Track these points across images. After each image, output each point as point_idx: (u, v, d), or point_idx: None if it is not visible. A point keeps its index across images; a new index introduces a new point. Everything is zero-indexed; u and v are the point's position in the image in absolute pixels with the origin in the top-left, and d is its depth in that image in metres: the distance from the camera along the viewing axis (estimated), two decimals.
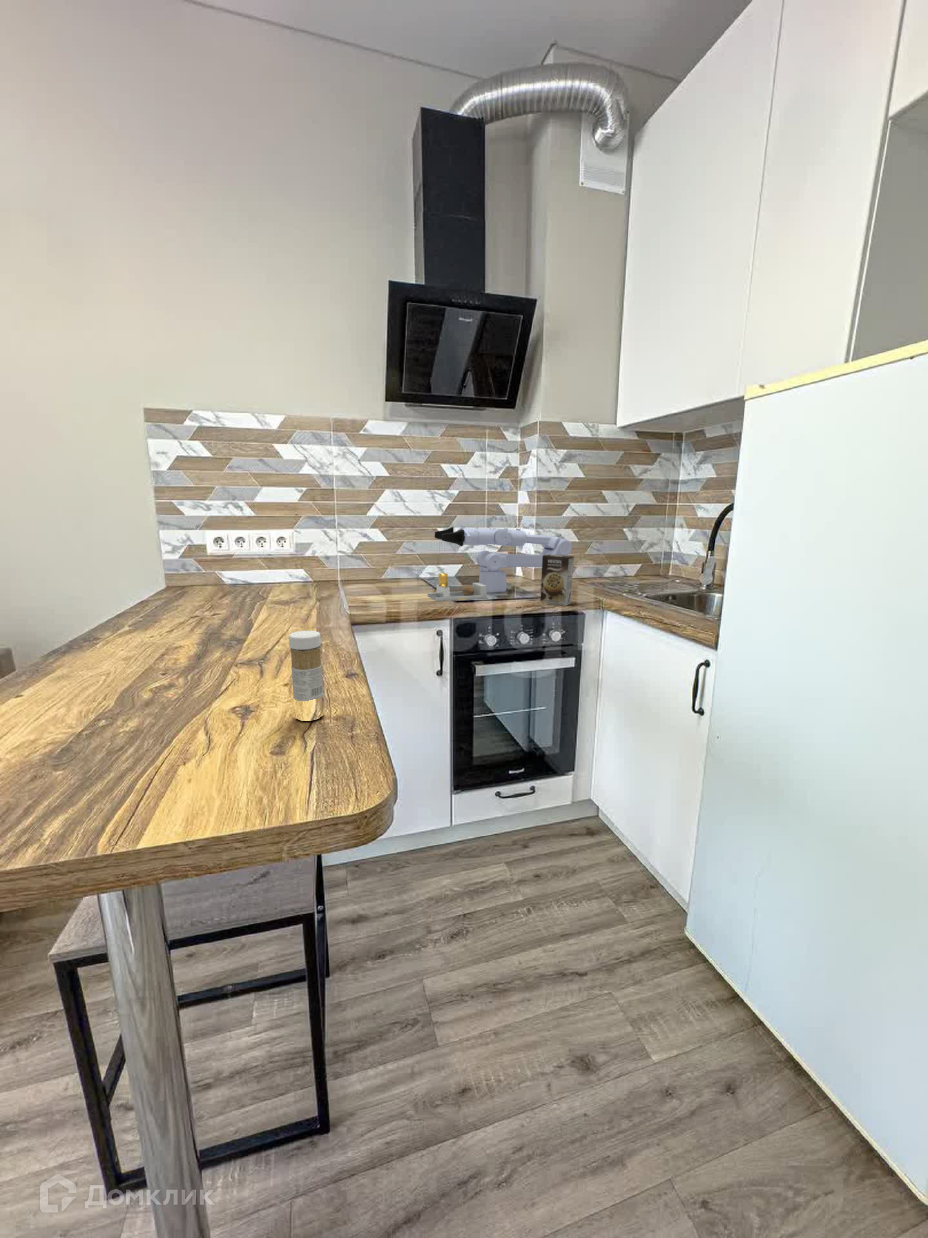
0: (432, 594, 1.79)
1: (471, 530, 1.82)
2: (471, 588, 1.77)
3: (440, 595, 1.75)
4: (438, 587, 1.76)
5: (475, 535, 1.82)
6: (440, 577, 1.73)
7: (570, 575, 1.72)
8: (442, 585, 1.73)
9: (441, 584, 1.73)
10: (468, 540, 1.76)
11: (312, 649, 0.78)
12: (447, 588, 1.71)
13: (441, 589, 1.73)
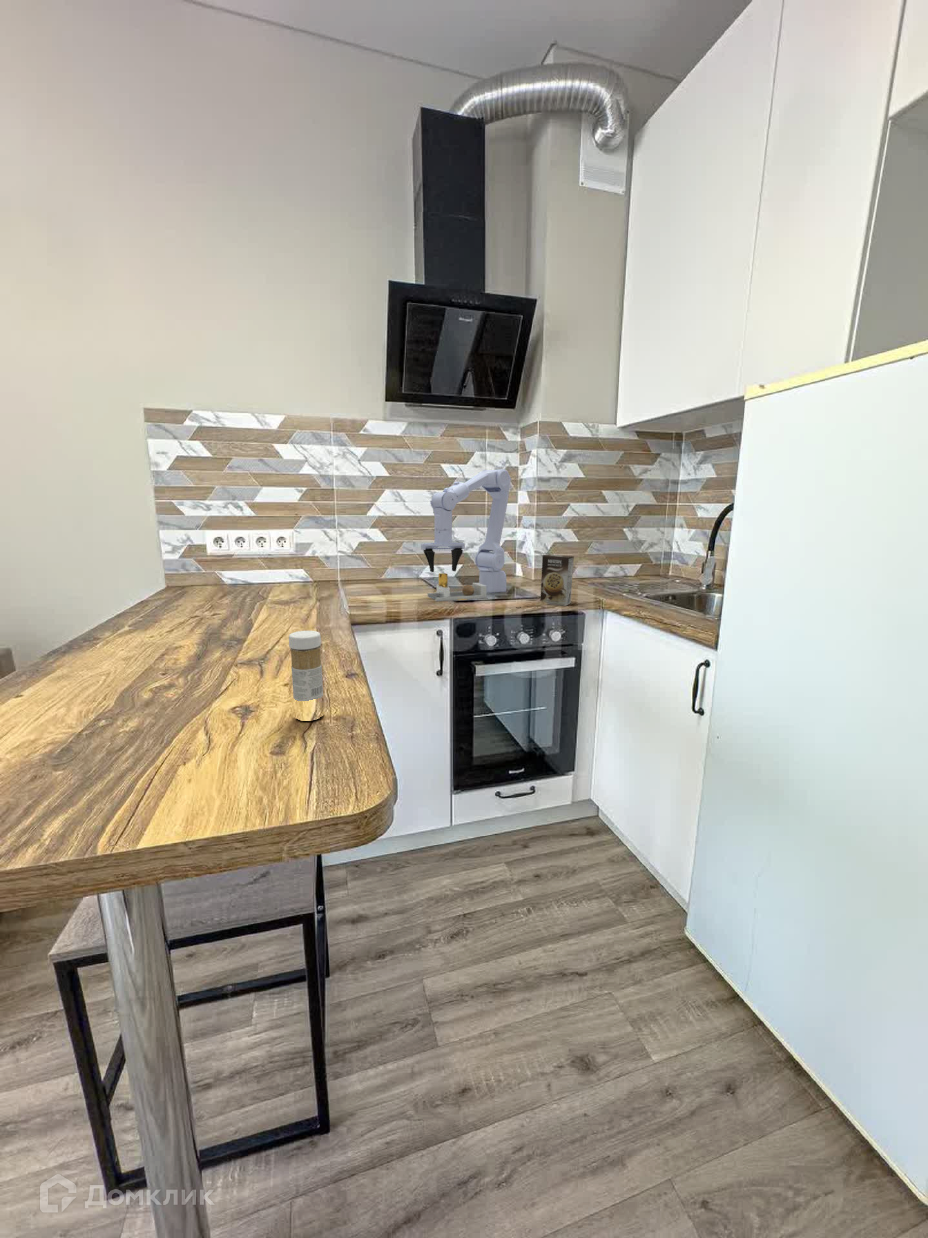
0: (432, 594, 1.79)
1: (450, 536, 1.70)
2: (471, 588, 1.77)
3: (440, 595, 1.75)
4: (438, 587, 1.76)
5: (451, 532, 1.71)
6: (440, 577, 1.73)
7: (570, 575, 1.72)
8: (442, 585, 1.73)
9: (441, 584, 1.73)
10: None
11: (312, 649, 0.78)
12: (447, 588, 1.71)
13: (441, 589, 1.73)
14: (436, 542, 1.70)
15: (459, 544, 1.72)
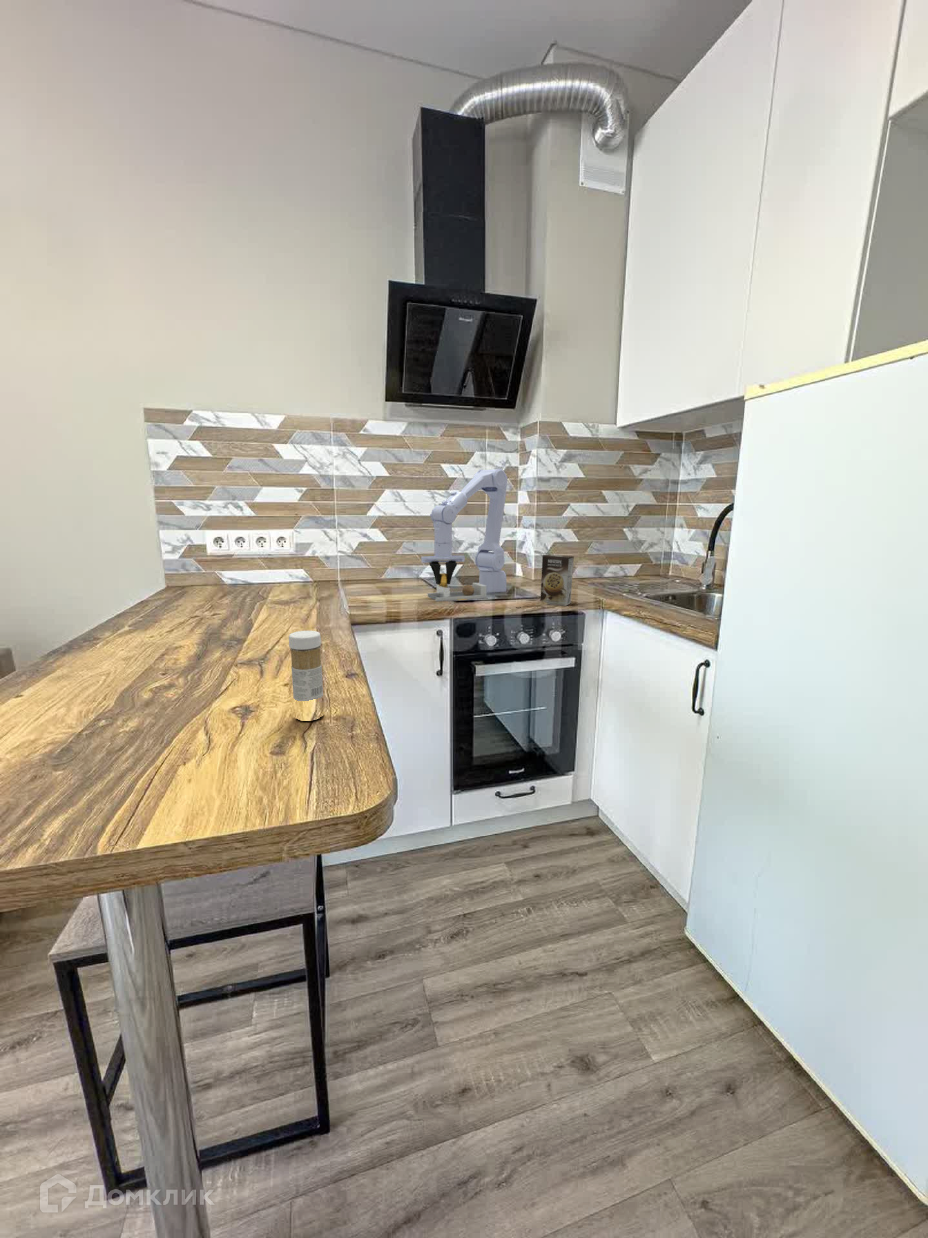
0: (432, 594, 1.79)
1: (450, 549, 1.71)
2: (471, 588, 1.77)
3: (440, 595, 1.75)
4: (438, 587, 1.76)
5: (451, 545, 1.72)
6: (440, 577, 1.73)
7: (570, 575, 1.72)
8: (442, 585, 1.73)
9: (441, 584, 1.73)
10: None
11: (312, 649, 0.78)
12: (447, 588, 1.71)
13: (441, 589, 1.73)
14: (436, 555, 1.71)
15: (459, 557, 1.73)
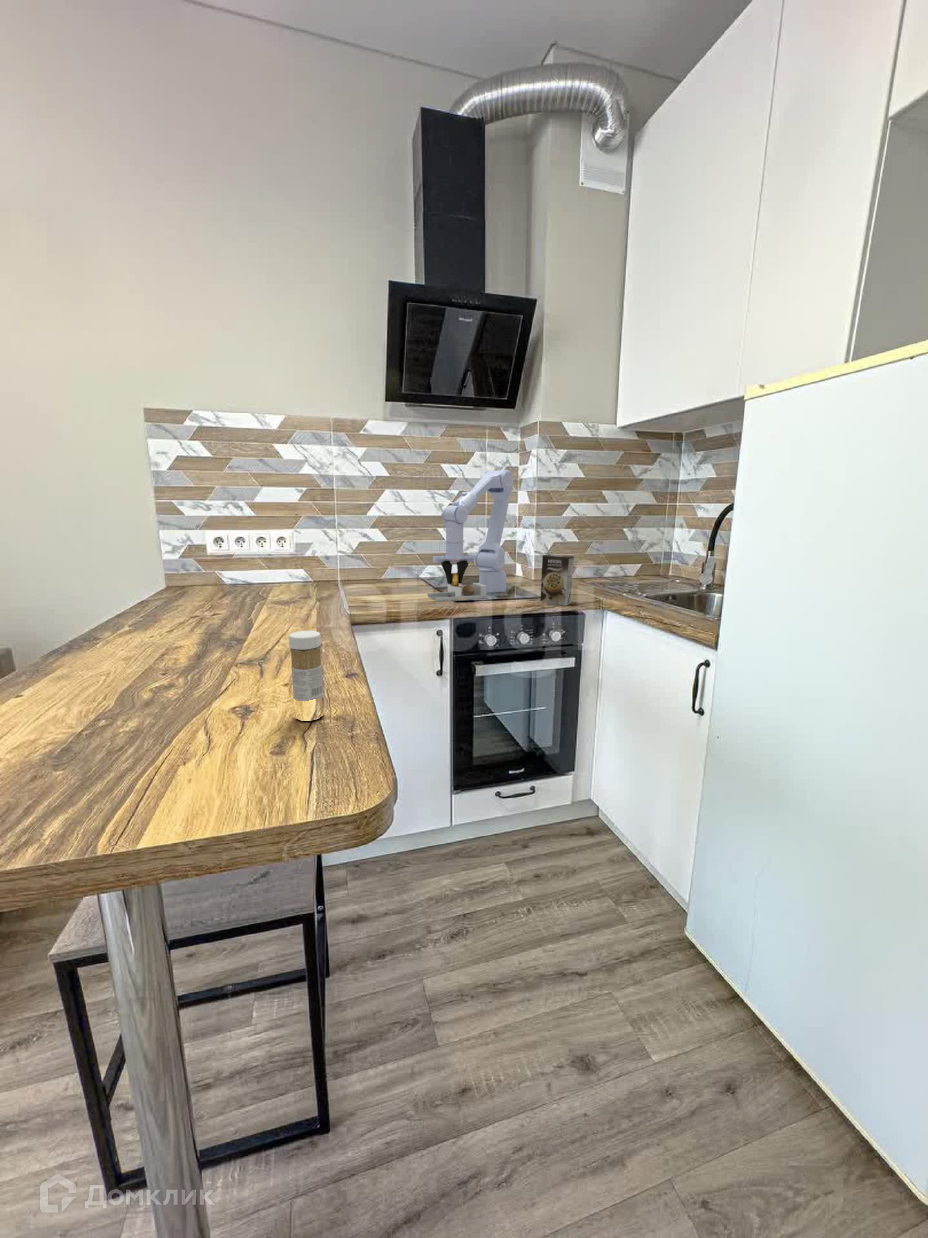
0: (432, 594, 1.79)
1: (461, 549, 1.72)
2: (471, 588, 1.77)
3: (451, 594, 1.76)
4: (449, 586, 1.78)
5: None
6: (451, 577, 1.74)
7: (570, 575, 1.72)
8: (453, 584, 1.75)
9: (452, 583, 1.75)
10: None
11: (312, 649, 0.78)
12: (459, 587, 1.73)
13: (452, 588, 1.75)
14: (448, 555, 1.72)
15: (470, 557, 1.75)
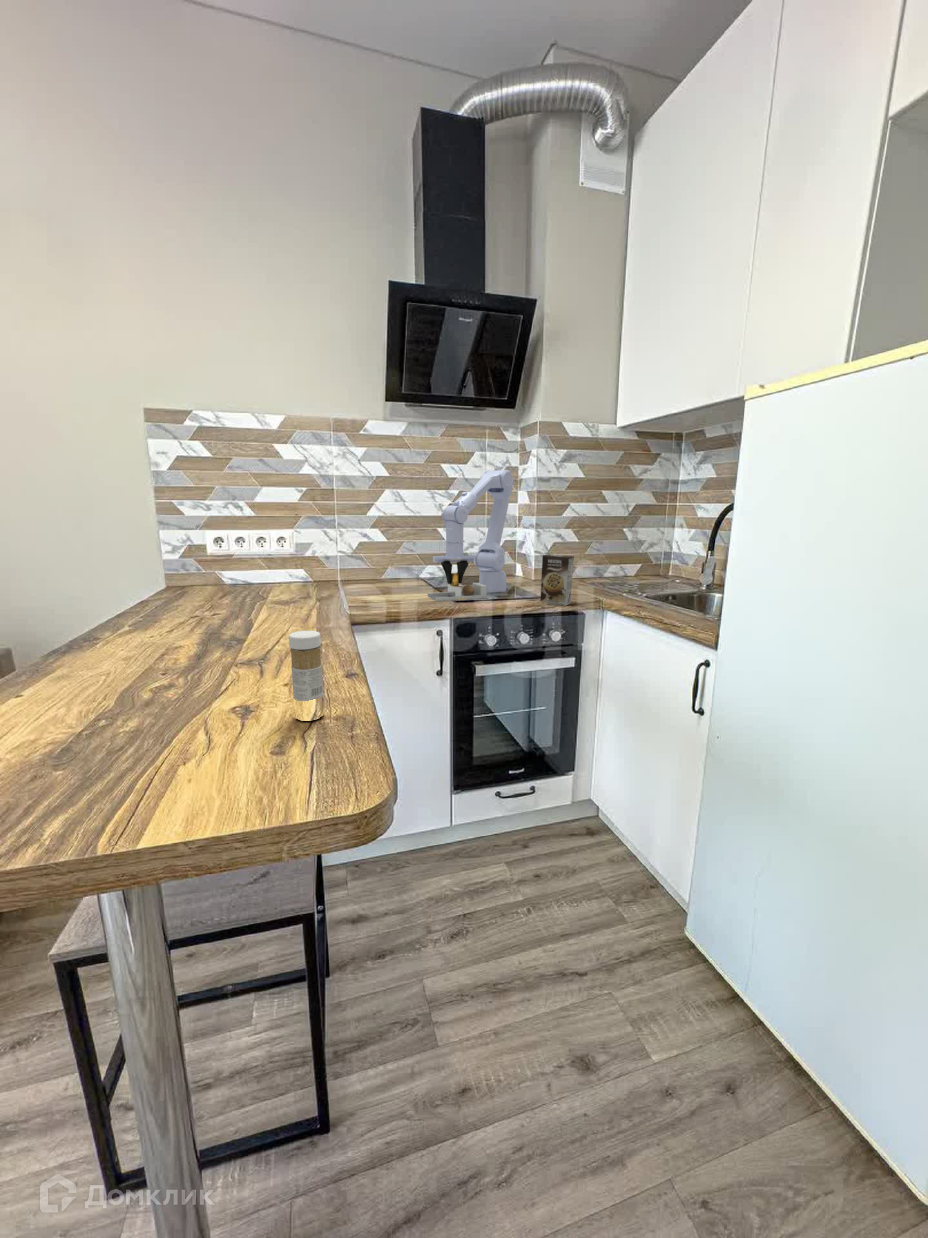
0: (432, 594, 1.79)
1: (461, 549, 1.72)
2: (471, 588, 1.77)
3: (451, 594, 1.76)
4: (449, 586, 1.78)
5: None
6: (451, 577, 1.74)
7: (570, 575, 1.72)
8: (453, 584, 1.75)
9: (452, 583, 1.75)
10: None
11: (312, 649, 0.78)
12: (459, 587, 1.73)
13: (452, 588, 1.75)
14: (448, 555, 1.72)
15: (470, 557, 1.75)
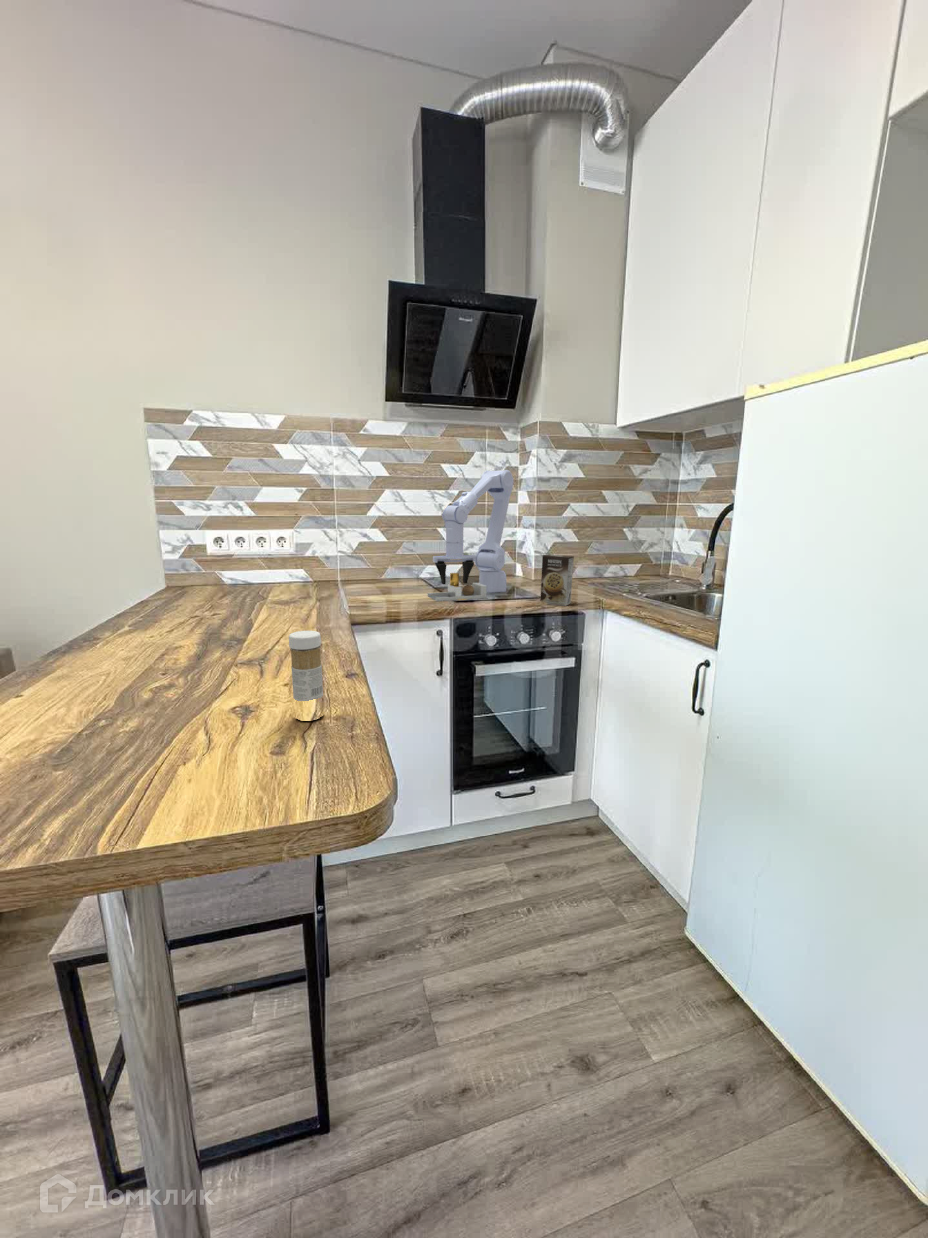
0: (432, 594, 1.79)
1: (461, 549, 1.72)
2: (471, 588, 1.77)
3: (451, 594, 1.76)
4: (449, 586, 1.78)
5: None
6: (452, 577, 1.74)
7: (570, 575, 1.72)
8: (454, 584, 1.75)
9: (453, 583, 1.75)
10: None
11: (312, 649, 0.78)
12: (459, 587, 1.73)
13: (452, 588, 1.75)
14: (448, 555, 1.72)
15: (470, 556, 1.75)
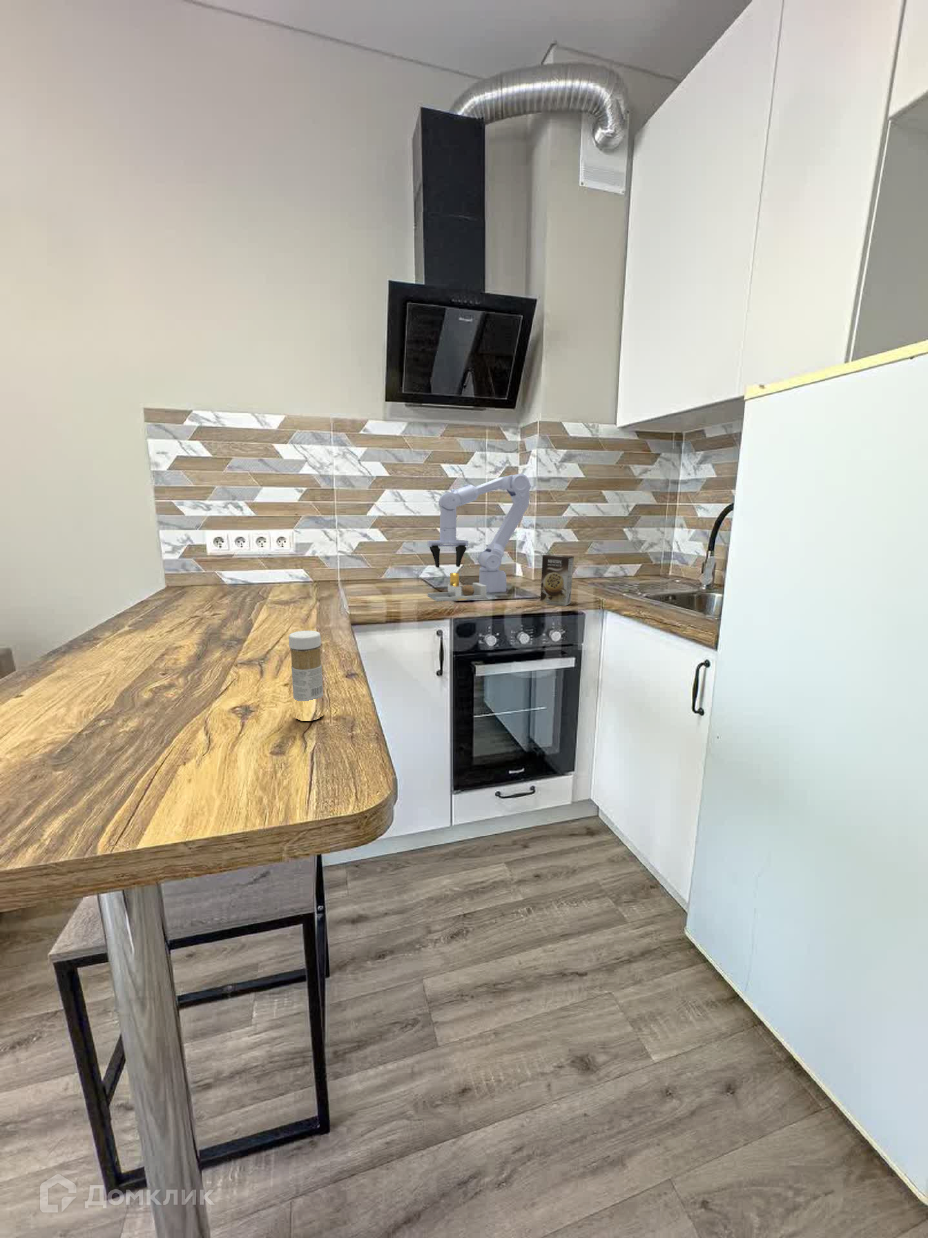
0: (432, 594, 1.79)
1: (454, 534, 1.82)
2: (471, 588, 1.77)
3: (451, 594, 1.76)
4: (449, 586, 1.78)
5: None
6: (452, 577, 1.74)
7: (570, 575, 1.72)
8: (454, 584, 1.75)
9: (453, 583, 1.75)
10: None
11: (312, 649, 0.78)
12: (459, 587, 1.73)
13: (452, 588, 1.75)
14: (441, 539, 1.82)
15: (463, 541, 1.84)
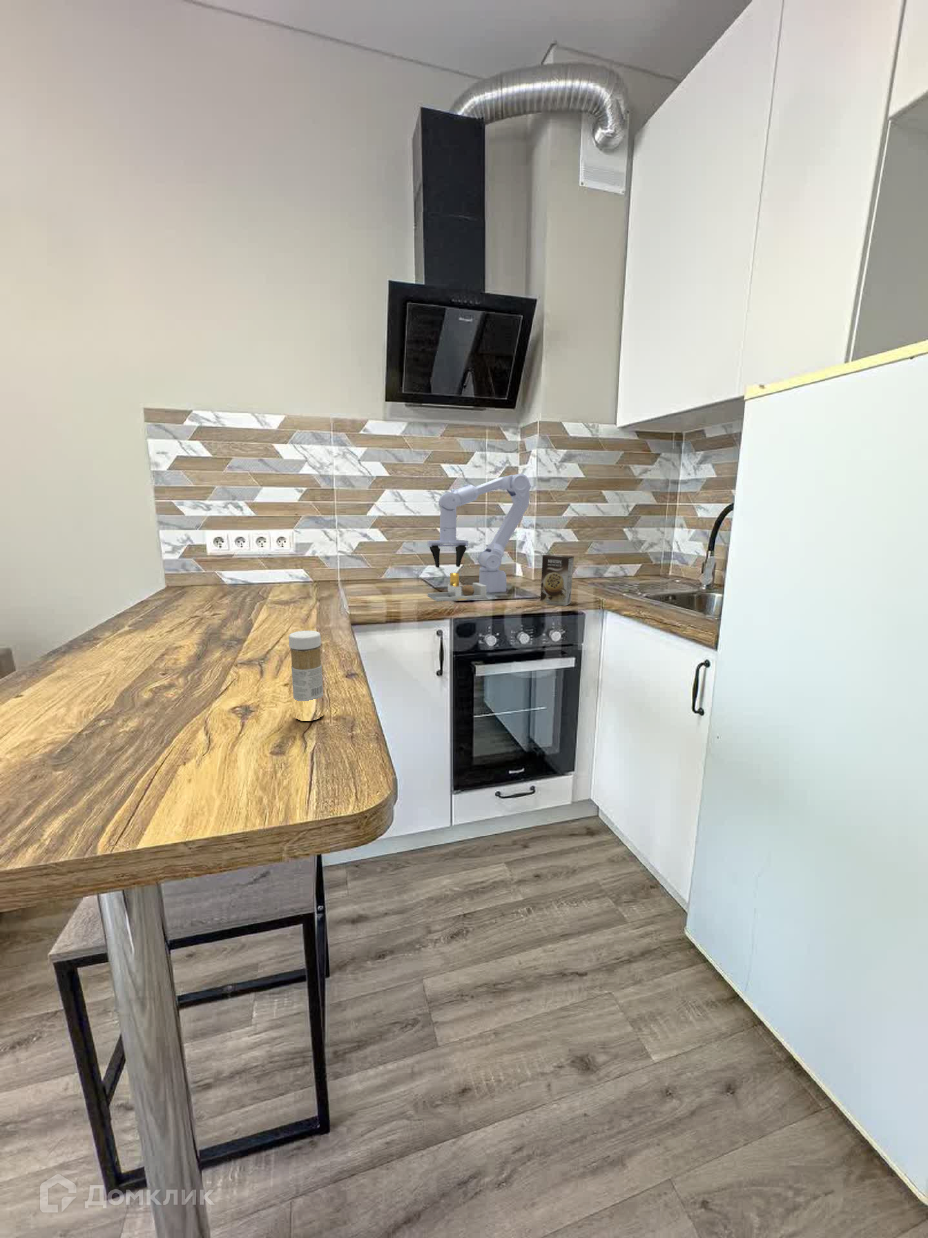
0: (432, 594, 1.79)
1: (454, 534, 1.82)
2: (471, 588, 1.77)
3: (451, 594, 1.76)
4: (449, 586, 1.78)
5: None
6: (452, 577, 1.74)
7: (570, 575, 1.72)
8: (454, 584, 1.75)
9: (453, 583, 1.75)
10: None
11: (312, 649, 0.78)
12: (459, 587, 1.73)
13: (452, 588, 1.75)
14: (441, 539, 1.82)
15: (463, 541, 1.84)
